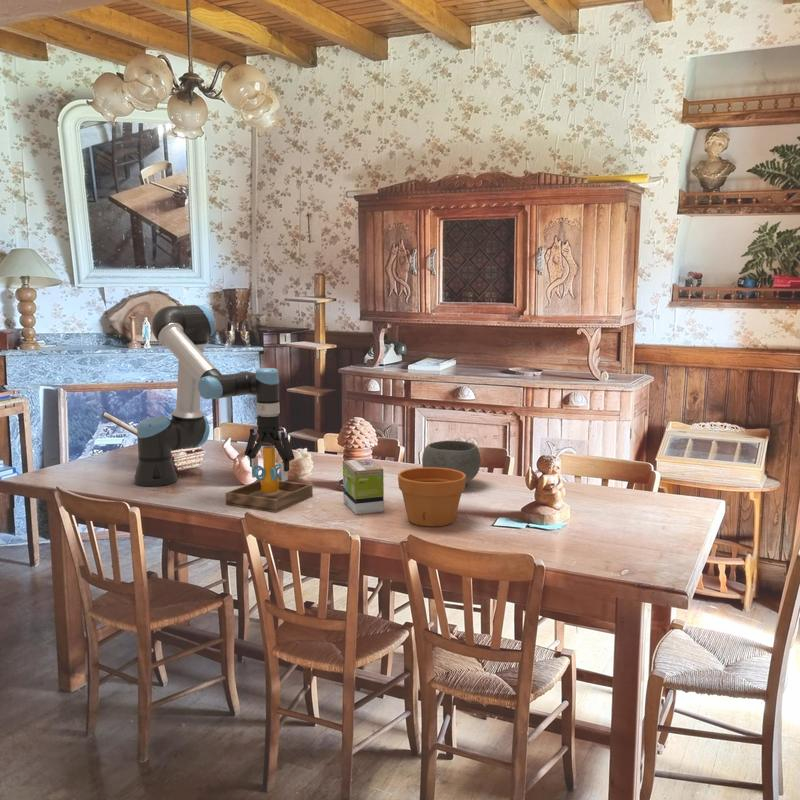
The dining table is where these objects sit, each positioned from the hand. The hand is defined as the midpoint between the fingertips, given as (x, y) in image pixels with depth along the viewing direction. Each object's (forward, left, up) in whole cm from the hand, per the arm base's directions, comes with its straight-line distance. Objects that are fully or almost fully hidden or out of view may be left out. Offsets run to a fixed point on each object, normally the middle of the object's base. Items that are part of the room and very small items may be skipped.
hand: (269, 478), depth 282 cm
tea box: (+32, +7, -8) cm, 34 cm away
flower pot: (+58, +4, -8) cm, 59 cm away
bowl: (+47, +46, -8) cm, 66 cm away
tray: (0, 0, -7) cm, 7 cm away
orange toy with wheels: (0, 0, -4) cm, 4 cm away
